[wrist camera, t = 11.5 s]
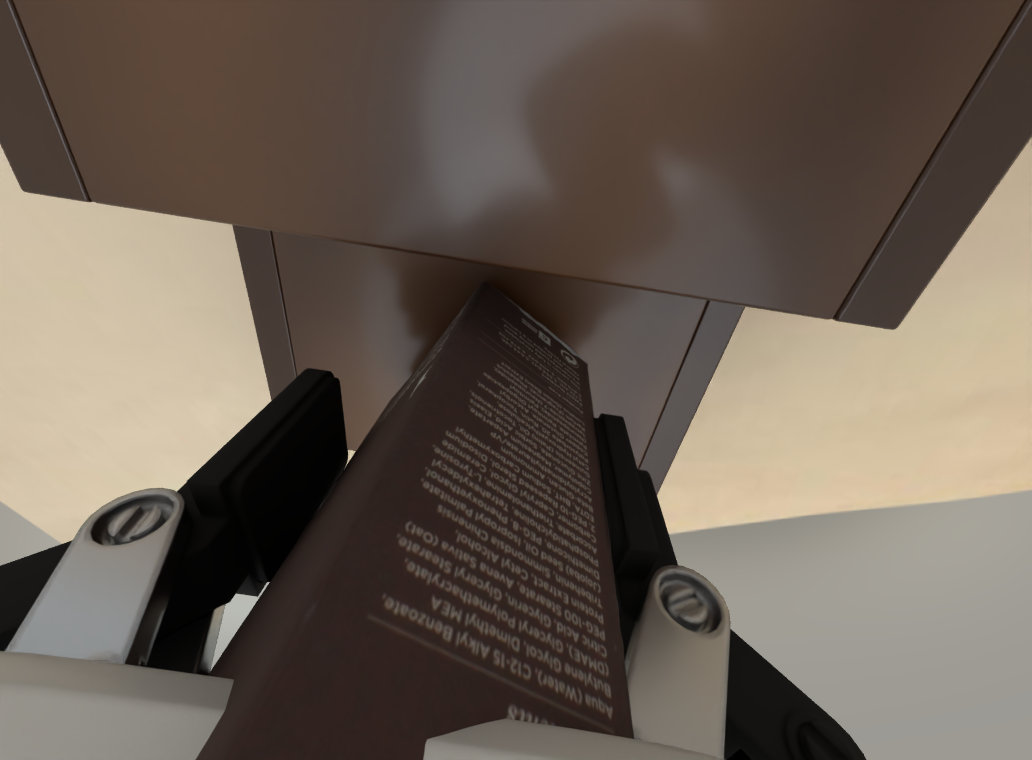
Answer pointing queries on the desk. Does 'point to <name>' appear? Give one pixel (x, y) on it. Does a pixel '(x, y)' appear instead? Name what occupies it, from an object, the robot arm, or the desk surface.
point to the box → (444, 567)
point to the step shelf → (534, 165)
